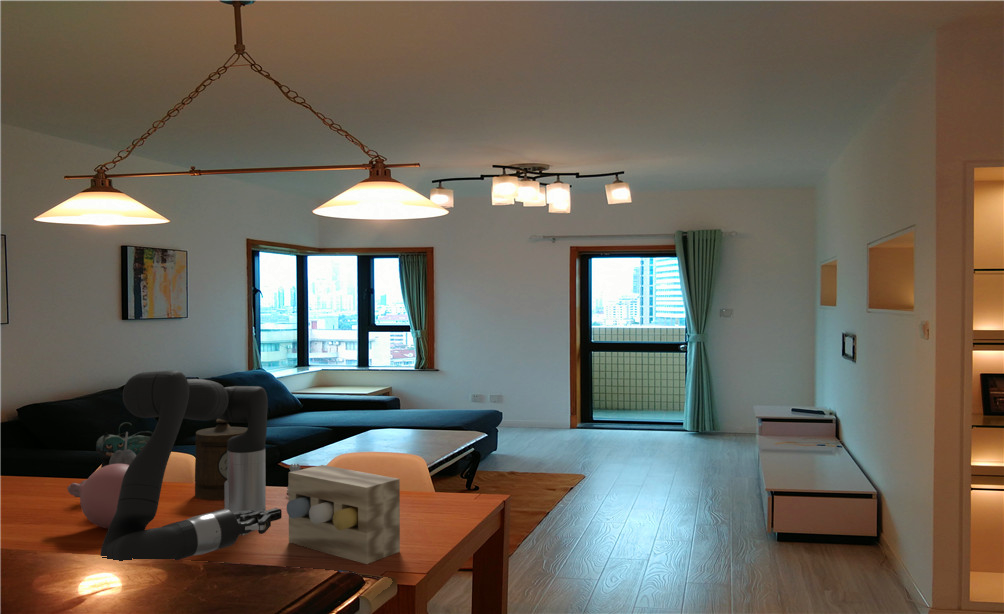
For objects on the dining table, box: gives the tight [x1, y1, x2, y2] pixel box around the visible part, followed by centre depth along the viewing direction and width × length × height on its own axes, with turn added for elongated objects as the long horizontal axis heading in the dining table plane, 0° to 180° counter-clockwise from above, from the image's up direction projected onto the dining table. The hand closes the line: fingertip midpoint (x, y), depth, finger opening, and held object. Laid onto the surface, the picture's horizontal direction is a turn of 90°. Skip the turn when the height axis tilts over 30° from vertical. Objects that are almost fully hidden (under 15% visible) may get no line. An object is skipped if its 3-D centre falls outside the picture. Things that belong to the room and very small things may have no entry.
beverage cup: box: [109, 431, 136, 465], centre depth 210 cm, size 7×7×20 cm
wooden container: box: [194, 418, 248, 501], centre depth 225 cm, size 15×15×22 cm
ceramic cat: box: [95, 421, 163, 483], centre depth 230 cm, size 20×6×20 cm, turn 147°
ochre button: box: [333, 506, 358, 530], centre depth 167 cm, size 5×4×4 cm
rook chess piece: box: [286, 463, 302, 494], centre depth 226 cm, size 4×4×8 cm
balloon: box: [66, 464, 129, 530], centre depth 192 cm, size 15×20×15 cm
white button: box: [309, 501, 334, 524], centre depth 171 cm, size 5×4×4 cm
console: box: [288, 464, 401, 565], centre depth 176 cm, size 10×25×16 cm, turn 54°
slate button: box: [286, 496, 311, 519], centre depth 176 cm, size 5×4×4 cm
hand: (279, 513), depth 171 cm, fingers closed
